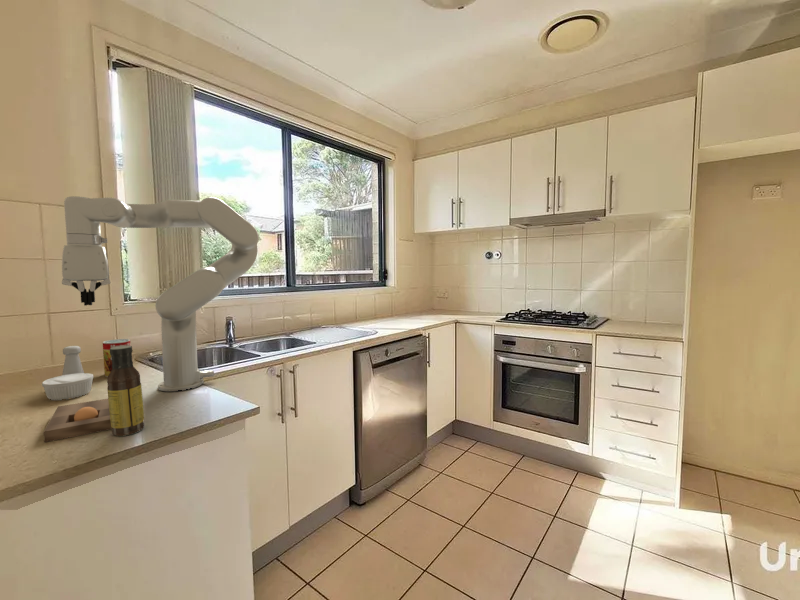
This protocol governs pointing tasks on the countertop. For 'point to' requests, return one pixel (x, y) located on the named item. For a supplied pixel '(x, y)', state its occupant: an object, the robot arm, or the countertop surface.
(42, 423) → the countertop surface
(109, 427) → the board
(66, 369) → the salt shaker
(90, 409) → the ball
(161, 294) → the robot arm
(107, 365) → the canned food
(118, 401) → the sauce bottle
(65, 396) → the ramekin
